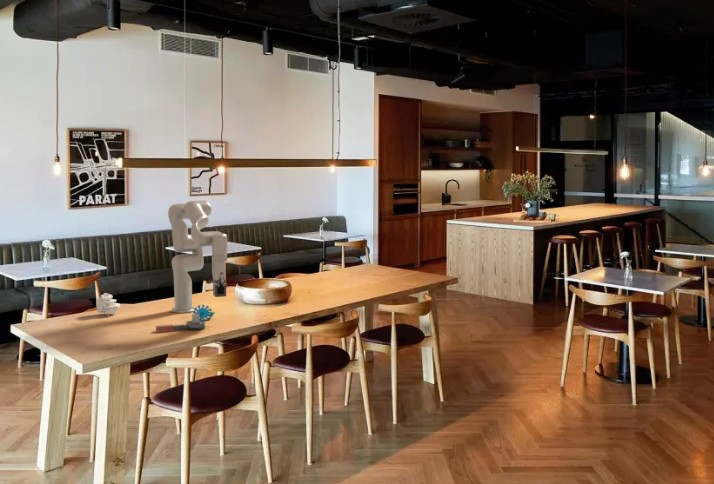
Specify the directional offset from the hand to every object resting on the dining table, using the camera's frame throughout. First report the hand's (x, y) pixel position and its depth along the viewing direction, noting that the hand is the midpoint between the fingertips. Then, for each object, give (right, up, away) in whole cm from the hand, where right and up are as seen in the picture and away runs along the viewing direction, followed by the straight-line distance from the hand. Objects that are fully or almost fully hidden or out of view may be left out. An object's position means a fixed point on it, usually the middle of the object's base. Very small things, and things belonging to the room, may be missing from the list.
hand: (219, 292), depth 329 cm
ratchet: (-17, -18, -9) cm, 26 cm away
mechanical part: (-65, -14, +22) cm, 70 cm away
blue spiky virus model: (-11, -16, +13) cm, 23 cm away
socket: (0, -2, 0) cm, 2 cm away
